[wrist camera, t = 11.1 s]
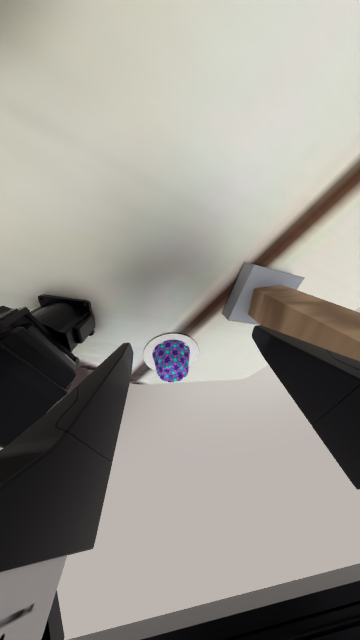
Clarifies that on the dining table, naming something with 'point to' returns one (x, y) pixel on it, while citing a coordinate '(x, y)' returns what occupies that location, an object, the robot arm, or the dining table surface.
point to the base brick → (245, 285)
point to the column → (307, 319)
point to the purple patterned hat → (171, 356)
